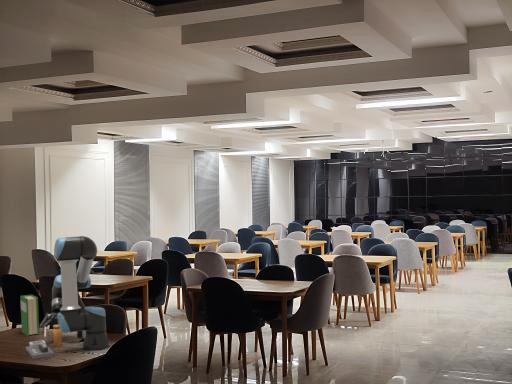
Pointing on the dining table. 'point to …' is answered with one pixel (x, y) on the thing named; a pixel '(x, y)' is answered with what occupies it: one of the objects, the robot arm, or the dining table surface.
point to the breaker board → (39, 350)
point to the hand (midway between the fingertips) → (57, 336)
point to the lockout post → (57, 335)
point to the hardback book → (29, 315)
